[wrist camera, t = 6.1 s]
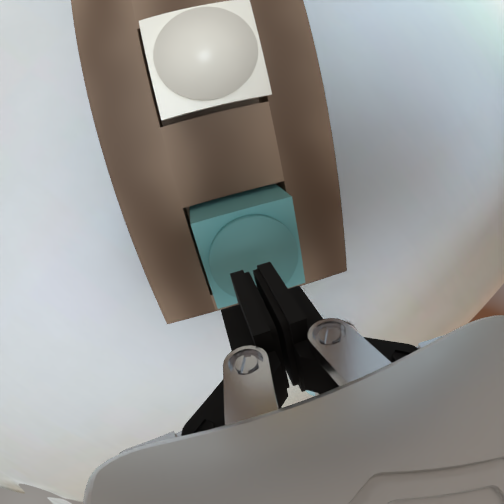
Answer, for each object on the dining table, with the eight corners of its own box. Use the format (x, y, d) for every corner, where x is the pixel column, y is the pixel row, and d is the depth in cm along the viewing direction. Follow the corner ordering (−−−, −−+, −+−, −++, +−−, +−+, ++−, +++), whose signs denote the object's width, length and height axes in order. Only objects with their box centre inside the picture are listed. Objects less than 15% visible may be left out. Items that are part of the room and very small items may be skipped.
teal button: (275, 183, 18) (296, 199, 14) (289, 259, 20) (309, 288, 17) (189, 206, 17) (190, 228, 14) (212, 281, 19) (219, 315, 16)
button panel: (249, -99, 10) (259, -120, 7) (328, 252, 23) (346, 270, 20) (78, -64, 9) (66, -82, 6) (168, 298, 21) (167, 324, 19)
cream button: (238, 16, 13) (251, -7, 10) (257, 98, 15) (275, 93, 12) (146, 36, 13) (136, 16, 9) (165, 120, 15) (160, 120, 12)
